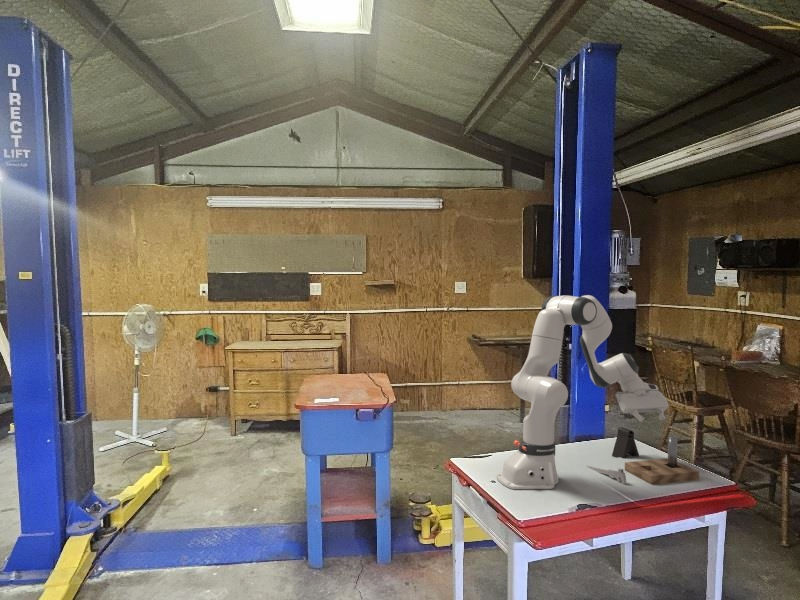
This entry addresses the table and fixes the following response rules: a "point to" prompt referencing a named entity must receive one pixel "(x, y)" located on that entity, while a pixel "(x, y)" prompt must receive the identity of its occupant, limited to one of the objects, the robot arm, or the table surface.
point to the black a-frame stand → (625, 444)
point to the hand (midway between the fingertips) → (652, 420)
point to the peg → (672, 451)
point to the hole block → (661, 471)
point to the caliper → (612, 473)
